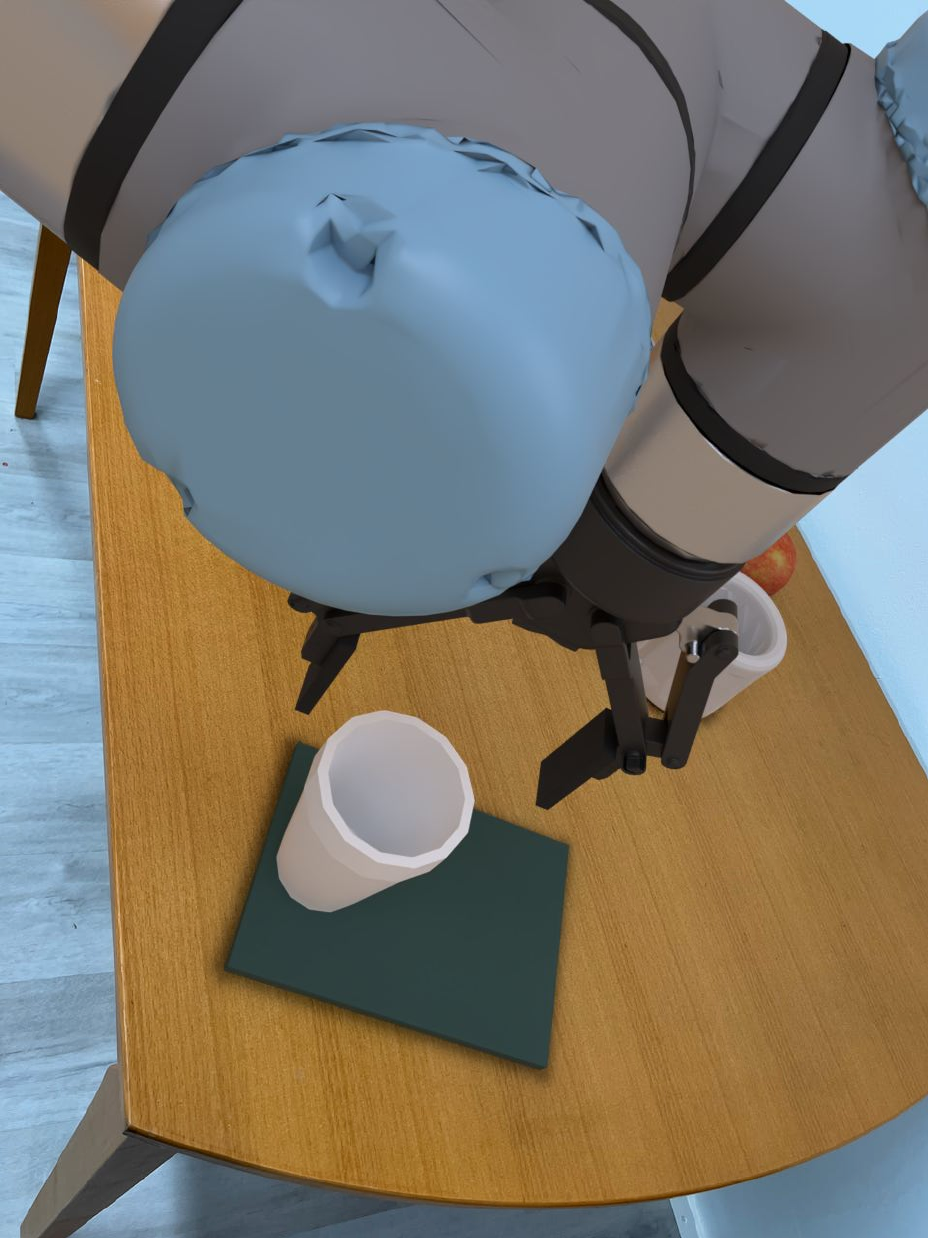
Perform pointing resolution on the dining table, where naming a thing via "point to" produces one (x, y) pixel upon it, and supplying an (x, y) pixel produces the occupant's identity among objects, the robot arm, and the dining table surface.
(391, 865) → the foam cup
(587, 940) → the dining table surface
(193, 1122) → the dining table surface
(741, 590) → the mug
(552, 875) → the mat
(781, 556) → the apple
